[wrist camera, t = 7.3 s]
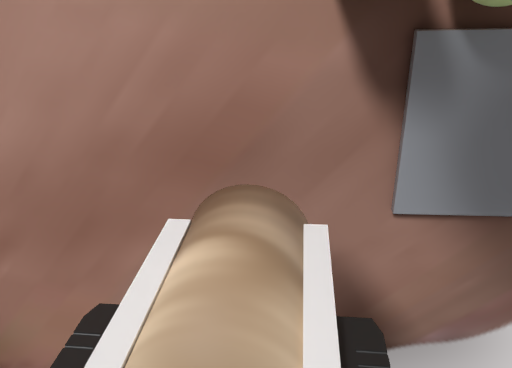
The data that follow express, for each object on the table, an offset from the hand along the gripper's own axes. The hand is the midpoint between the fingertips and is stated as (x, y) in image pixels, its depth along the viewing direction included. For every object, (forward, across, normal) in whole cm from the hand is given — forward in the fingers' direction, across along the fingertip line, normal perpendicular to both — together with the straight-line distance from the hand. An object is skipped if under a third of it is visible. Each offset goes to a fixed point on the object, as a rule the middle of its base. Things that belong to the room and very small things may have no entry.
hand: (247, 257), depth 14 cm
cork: (+1, 0, 0) cm, 1 cm away
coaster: (+13, +13, 0) cm, 19 cm away
